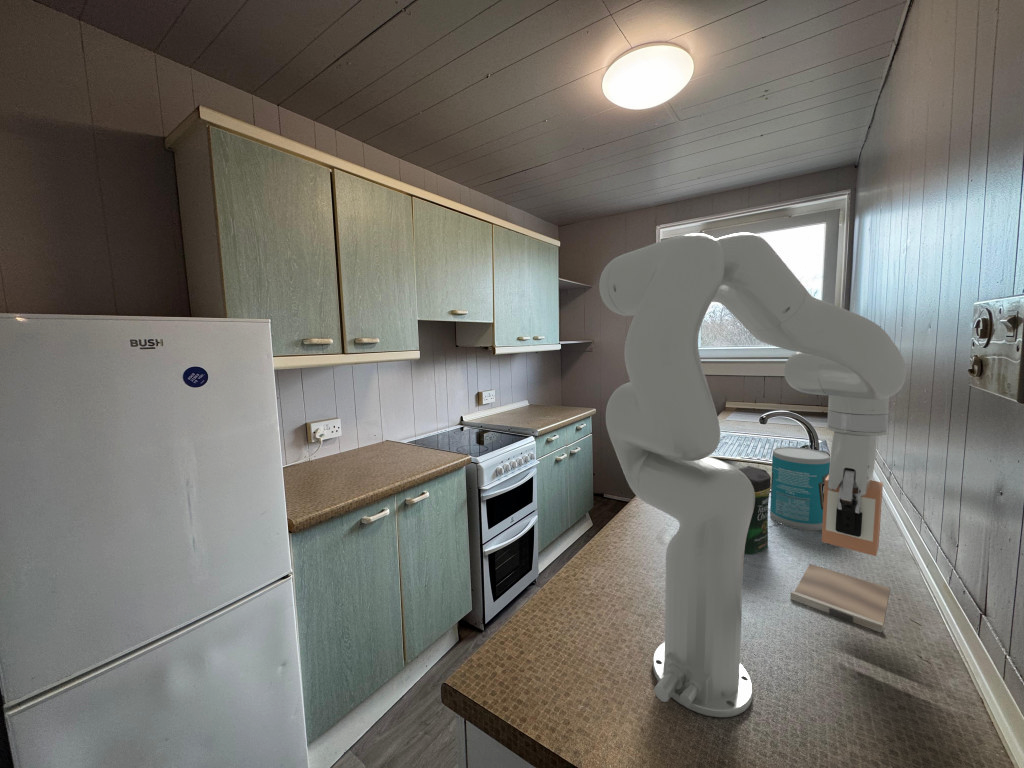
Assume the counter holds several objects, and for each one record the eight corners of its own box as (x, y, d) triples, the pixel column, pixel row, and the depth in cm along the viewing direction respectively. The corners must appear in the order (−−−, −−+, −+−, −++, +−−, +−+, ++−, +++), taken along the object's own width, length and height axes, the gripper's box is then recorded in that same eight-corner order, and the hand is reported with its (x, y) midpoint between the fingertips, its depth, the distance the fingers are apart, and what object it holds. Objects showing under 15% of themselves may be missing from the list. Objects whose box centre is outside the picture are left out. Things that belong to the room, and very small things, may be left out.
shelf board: (881, 640, 63) (882, 626, 63) (789, 605, 71) (790, 593, 71) (889, 594, 74) (890, 582, 74) (809, 569, 83) (810, 558, 82)
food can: (761, 510, 111) (763, 446, 110) (808, 511, 110) (811, 446, 108) (785, 530, 100) (788, 459, 98) (838, 531, 98) (842, 459, 96)
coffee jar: (751, 563, 85) (754, 478, 83) (715, 547, 92) (717, 468, 90) (774, 550, 90) (777, 469, 89) (739, 536, 97) (741, 461, 95)
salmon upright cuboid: (876, 556, 64) (880, 489, 63) (821, 541, 69) (824, 479, 68) (878, 546, 67) (883, 482, 66) (826, 532, 73) (829, 473, 71)
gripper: (836, 412, 75) (831, 507, 77) (817, 427, 63) (812, 538, 65) (891, 417, 69) (884, 518, 71) (882, 434, 58) (874, 555, 60)
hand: (850, 527), depth 68 cm, fingers closed on salmon upright cuboid, 4 cm apart
